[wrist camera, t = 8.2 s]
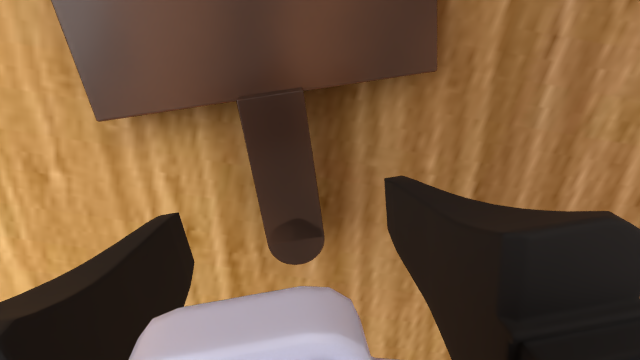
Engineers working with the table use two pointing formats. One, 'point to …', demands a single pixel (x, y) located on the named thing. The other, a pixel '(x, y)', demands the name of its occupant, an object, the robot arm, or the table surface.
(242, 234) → the table surface
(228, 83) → the walnut board
